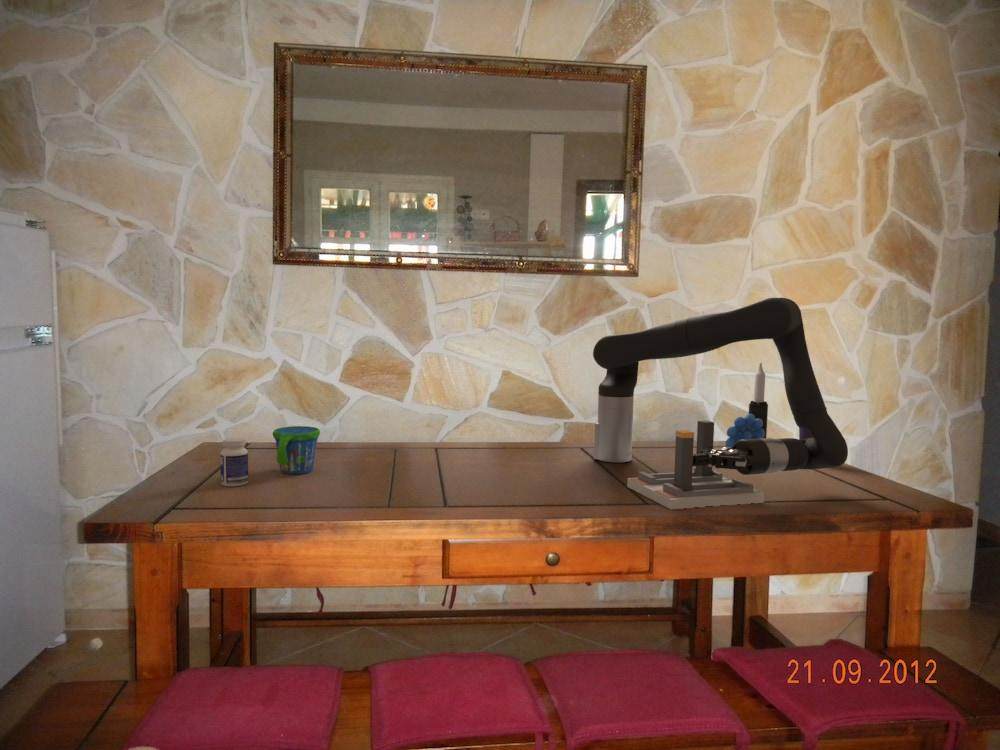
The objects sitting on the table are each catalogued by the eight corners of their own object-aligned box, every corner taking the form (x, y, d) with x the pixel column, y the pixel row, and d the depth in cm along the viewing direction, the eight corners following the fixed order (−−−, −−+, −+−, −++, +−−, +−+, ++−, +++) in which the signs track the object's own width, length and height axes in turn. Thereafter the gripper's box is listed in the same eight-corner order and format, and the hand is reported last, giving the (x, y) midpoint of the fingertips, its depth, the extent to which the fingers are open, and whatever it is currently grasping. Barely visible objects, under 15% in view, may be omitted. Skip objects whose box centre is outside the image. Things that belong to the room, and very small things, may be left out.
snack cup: (299, 480, 163) (298, 436, 162) (258, 477, 166) (257, 433, 165) (332, 466, 178) (332, 425, 177) (295, 463, 181) (294, 423, 180)
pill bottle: (253, 482, 161) (253, 438, 160) (236, 488, 156) (236, 442, 155) (232, 479, 163) (232, 436, 162) (215, 485, 158) (214, 440, 157)
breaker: (679, 494, 148) (682, 433, 147) (672, 490, 151) (674, 430, 150) (692, 493, 149) (695, 432, 148) (684, 489, 152) (687, 430, 151)
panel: (670, 509, 145) (673, 435, 144) (627, 486, 163) (629, 421, 162) (764, 502, 151) (767, 432, 150) (712, 481, 170) (714, 418, 168)
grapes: (754, 453, 205) (756, 411, 204) (768, 458, 198) (770, 414, 197) (717, 454, 202) (719, 411, 201) (729, 459, 196) (731, 415, 195)
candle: (766, 445, 217) (770, 362, 215) (764, 448, 212) (769, 363, 210) (748, 444, 219) (752, 361, 217) (746, 446, 215) (750, 362, 212)
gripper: (780, 480, 149) (707, 485, 144) (740, 466, 162) (672, 471, 156) (782, 444, 148) (709, 448, 143) (741, 433, 161) (673, 436, 156)
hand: (689, 460), depth 150 cm, fingers closed
